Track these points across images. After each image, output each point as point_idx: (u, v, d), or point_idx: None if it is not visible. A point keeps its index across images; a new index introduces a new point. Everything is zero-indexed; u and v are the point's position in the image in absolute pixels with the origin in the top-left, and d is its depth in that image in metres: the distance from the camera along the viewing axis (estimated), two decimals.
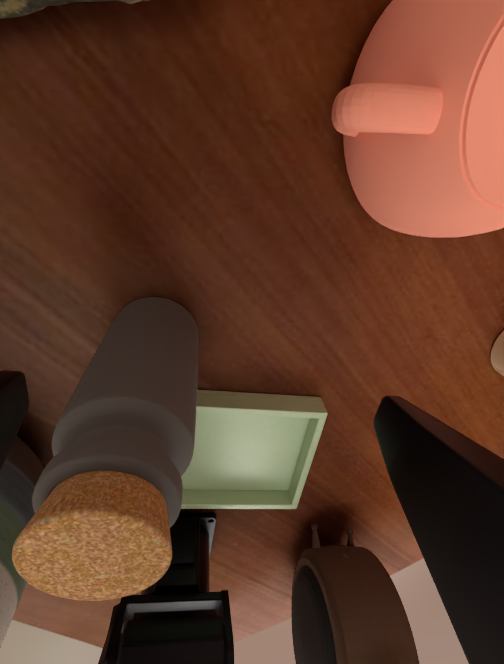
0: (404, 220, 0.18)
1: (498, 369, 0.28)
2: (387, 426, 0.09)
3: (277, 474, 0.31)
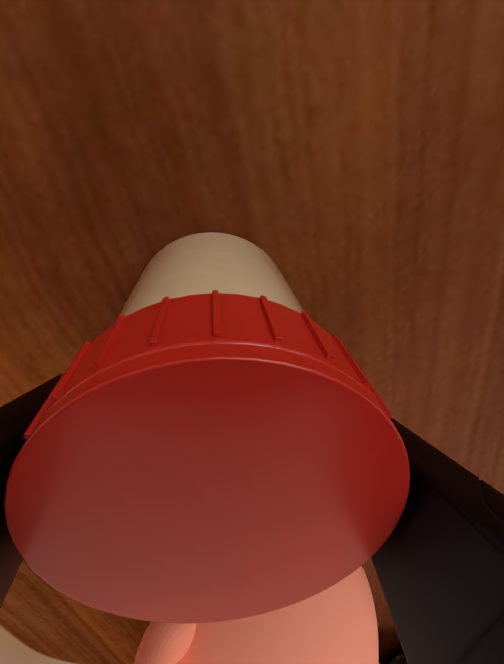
0: (375, 628, 0.18)
1: None
2: None
3: None
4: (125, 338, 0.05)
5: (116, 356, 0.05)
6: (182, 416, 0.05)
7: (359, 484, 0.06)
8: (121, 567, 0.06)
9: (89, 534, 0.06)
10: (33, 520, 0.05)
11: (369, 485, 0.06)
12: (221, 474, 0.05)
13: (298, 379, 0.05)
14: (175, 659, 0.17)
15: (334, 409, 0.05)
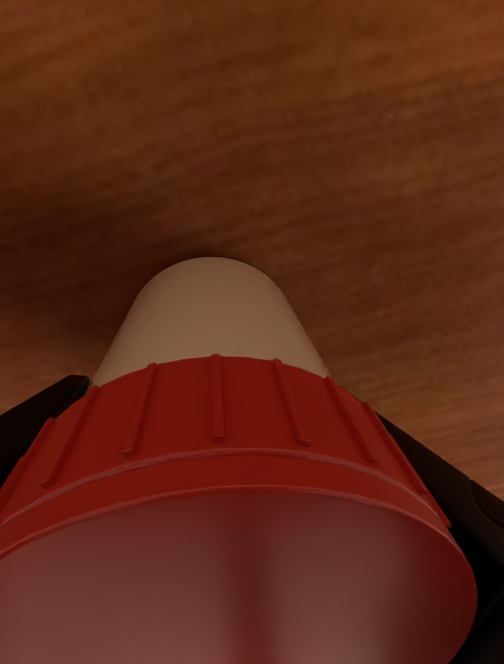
0: None
1: None
2: None
3: None
4: (92, 431, 0.04)
5: (75, 468, 0.03)
6: (167, 562, 0.03)
7: (409, 621, 0.04)
8: None
9: None
10: None
11: (423, 621, 0.04)
12: (223, 623, 0.04)
13: (336, 510, 0.03)
14: None
15: (384, 542, 0.03)
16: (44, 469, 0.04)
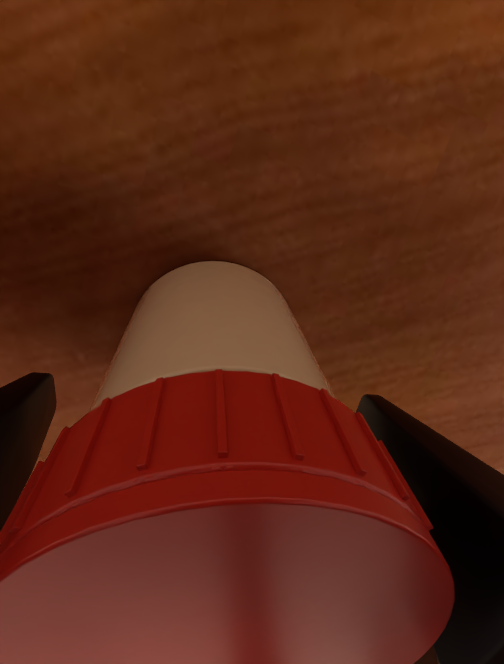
0: None
1: None
2: None
3: None
4: (108, 444, 0.04)
5: (94, 479, 0.04)
6: (177, 563, 0.04)
7: (393, 612, 0.05)
8: None
9: None
10: None
11: (405, 612, 0.05)
12: (226, 614, 0.04)
13: (326, 518, 0.04)
14: None
15: (369, 545, 0.04)
16: (65, 478, 0.04)
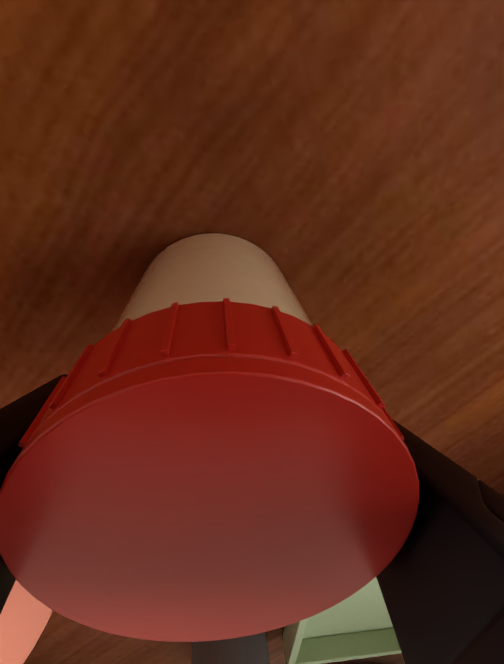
0: (26, 657, 0.16)
1: None
2: None
3: None
4: None
5: None
6: (69, 570, 0.05)
7: (171, 437, 0.04)
8: (268, 597, 0.06)
9: (214, 611, 0.07)
10: (190, 632, 0.07)
11: (174, 426, 0.04)
12: (144, 546, 0.05)
13: (9, 508, 0.05)
14: None
15: (44, 477, 0.05)
16: None
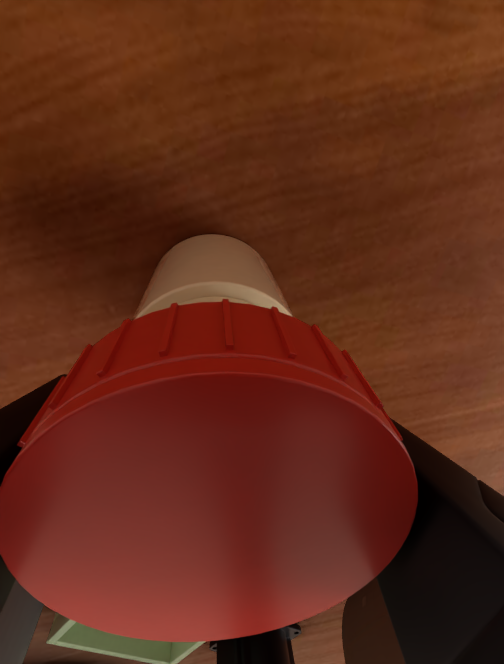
0: None
1: None
2: None
3: None
4: None
5: None
6: (68, 570, 0.05)
7: (169, 437, 0.04)
8: (266, 597, 0.06)
9: (213, 611, 0.07)
10: (188, 633, 0.07)
11: (172, 426, 0.04)
12: (143, 546, 0.05)
13: (8, 507, 0.05)
14: None
15: (43, 477, 0.05)
16: None
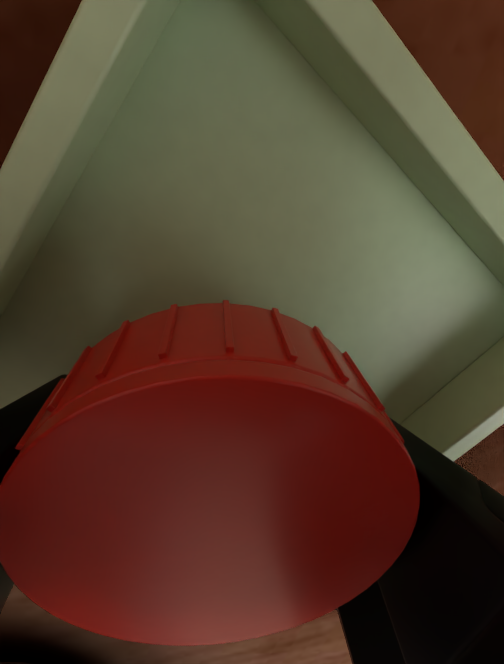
0: None
1: None
2: None
3: (436, 311, 0.09)
4: None
5: None
6: (66, 574, 0.05)
7: (169, 440, 0.04)
8: (267, 601, 0.06)
9: (213, 615, 0.06)
10: (188, 636, 0.07)
11: (172, 430, 0.04)
12: (142, 550, 0.05)
13: (6, 511, 0.05)
14: None
15: (42, 480, 0.04)
16: None
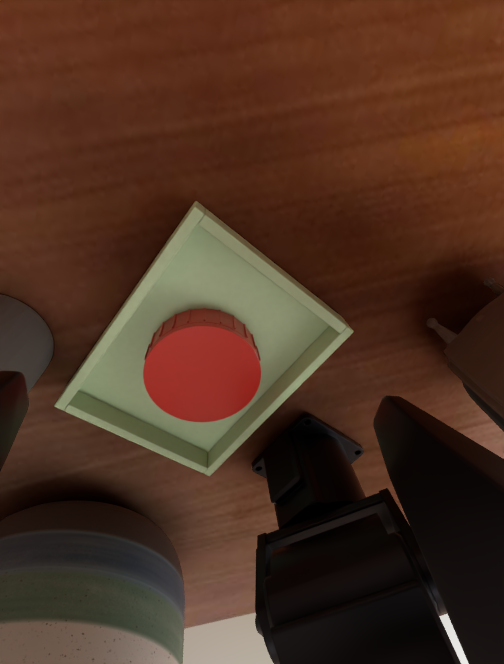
0: None
1: None
2: (387, 426, 0.09)
3: (291, 321, 0.21)
4: None
5: None
6: (160, 385, 0.19)
7: (190, 342, 0.18)
8: (219, 402, 0.20)
9: (202, 407, 0.20)
10: (194, 417, 0.21)
11: (190, 339, 0.18)
12: (181, 377, 0.19)
13: (149, 361, 0.19)
14: None
15: (158, 352, 0.18)
16: None
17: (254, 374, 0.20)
